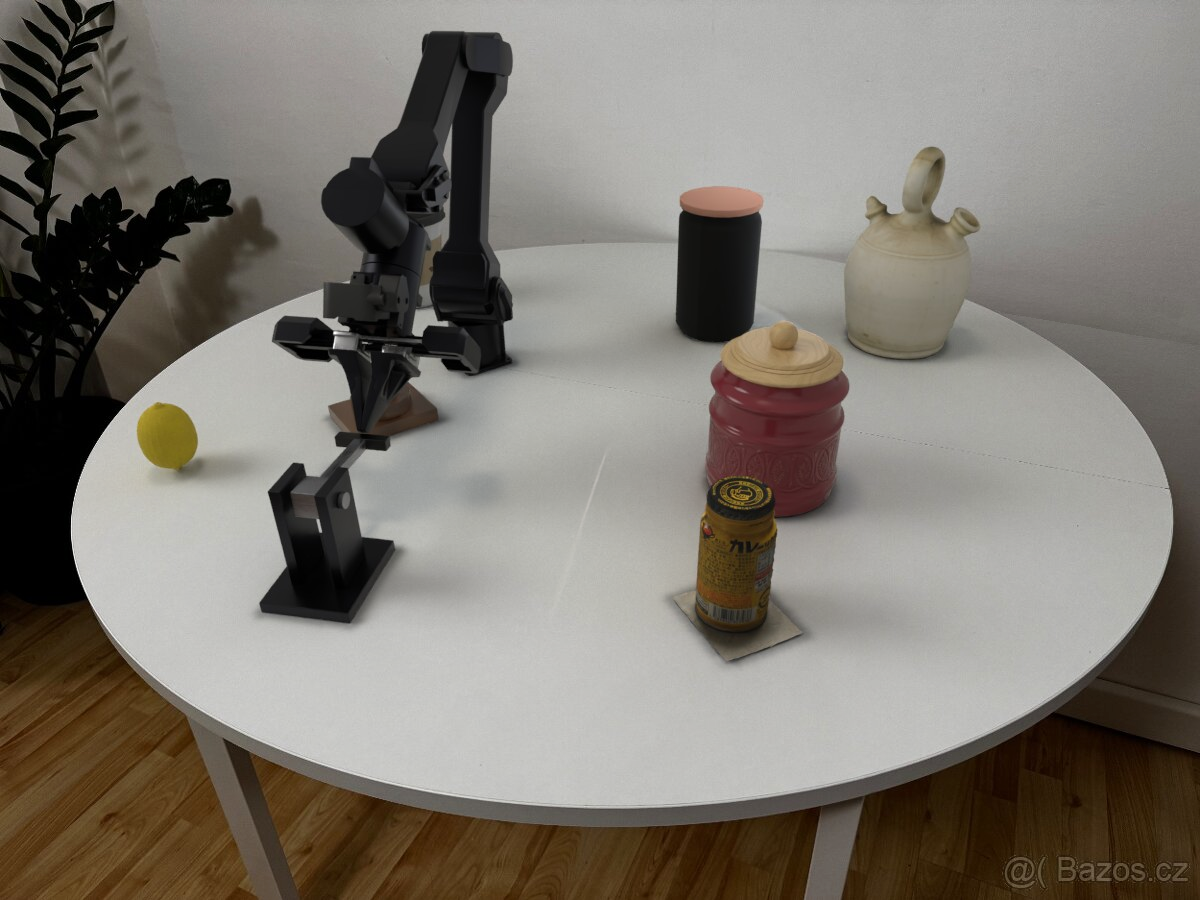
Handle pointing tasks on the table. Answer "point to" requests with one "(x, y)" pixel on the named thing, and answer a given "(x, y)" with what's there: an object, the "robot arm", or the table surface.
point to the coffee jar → (717, 262)
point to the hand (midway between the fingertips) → (362, 432)
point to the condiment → (737, 570)
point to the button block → (390, 413)
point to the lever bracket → (323, 552)
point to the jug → (909, 269)
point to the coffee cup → (435, 234)
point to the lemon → (167, 436)
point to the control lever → (312, 484)
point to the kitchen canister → (778, 414)
